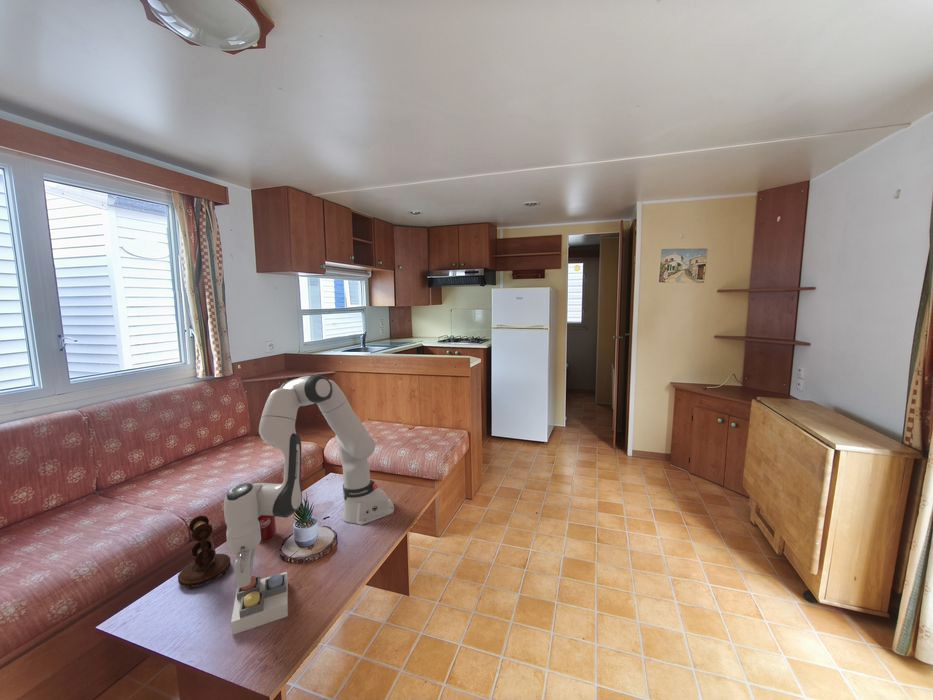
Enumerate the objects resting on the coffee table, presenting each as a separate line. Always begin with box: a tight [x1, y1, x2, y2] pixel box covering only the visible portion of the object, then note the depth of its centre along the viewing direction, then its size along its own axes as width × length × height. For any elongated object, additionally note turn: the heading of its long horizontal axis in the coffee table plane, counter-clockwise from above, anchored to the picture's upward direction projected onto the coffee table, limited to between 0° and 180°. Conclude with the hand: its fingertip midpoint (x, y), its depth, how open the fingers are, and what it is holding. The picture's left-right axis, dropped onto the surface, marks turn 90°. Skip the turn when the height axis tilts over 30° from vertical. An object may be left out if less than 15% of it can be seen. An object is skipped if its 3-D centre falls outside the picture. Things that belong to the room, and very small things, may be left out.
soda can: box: [258, 515, 278, 543], centre depth 147 cm, size 7×7×12 cm
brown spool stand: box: [177, 515, 232, 590], centre depth 126 cm, size 15×15×20 cm
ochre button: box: [244, 591, 260, 609], centre depth 107 cm, size 4×4×3 cm
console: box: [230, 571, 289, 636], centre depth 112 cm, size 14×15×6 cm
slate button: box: [268, 573, 283, 590], centre depth 115 cm, size 4×4×3 cm
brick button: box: [241, 575, 256, 591], centre depth 114 cm, size 4×4×3 cm
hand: (248, 580), depth 114 cm, fingers closed, pressing on brick button
